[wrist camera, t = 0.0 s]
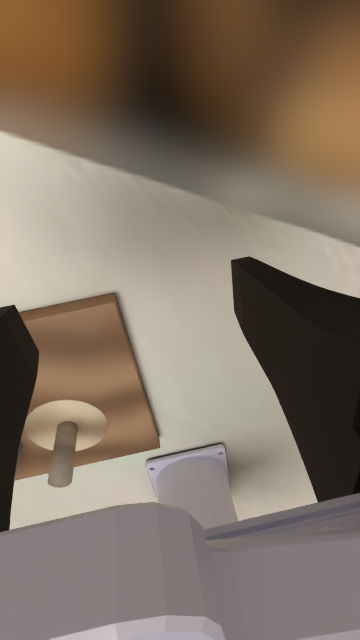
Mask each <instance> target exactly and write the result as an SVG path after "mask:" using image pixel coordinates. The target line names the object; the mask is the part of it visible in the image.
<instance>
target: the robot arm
mask: <svg viewBox="0 0 360 640" xmlns="http://www.w3.org/2000/svg"><path fill="white" fill-rule="evenodd" d="M231 268H232V283H233V298H234V311H235V314H236V317H237V319H238V322H239V325H240V327H241V330H242V332H243V334H244V336H245V338H246V340H247V342H248V344H249V345H250V347H251V349H252V351H253V353H254V354H255V356H256V358H257V360H258V361H259V363H260V365H261V367H262V368H263V370H264V372H265V374H266V376H267V377H268V379H269V381H270V383H271V385H272V387H273V389H274V391H275V393H276V395H277V397H278V400H279V402H280V405H281V407H282V409H283V412H284V414H285V416H286V419H287V421H288V424H289V426H290V429H291V431H292V434H293V436H294V439H295V441H296V444H297V446H298V449H299V452H300V454H301V457H302V460H303V462H304V465H305V468H306V470H307V473H308V476H309V478H310V481H311V484H312V487H313V489H314V492H315V495H316V498H317V501H318V503H314V504H310V505H306V506H301V507H297V508H293V509H289V510H284V511H280V512H276V513H271V514H267V515H263V516H259V517H254V518H250V519H246V520H242V521H238V518H237V515H236V511H235V507H234V504H233V500H232V497H231V493H230V484H229V476H228V468H227V459H226V451H225V446H224V445H222V444H219V445H214V446H210V447H206V448H201V449H197V450H192V451H188V452H183V453H179V454H175V455H170V456H166V457H161V458H157V459H152V460H149V461H147V462H146V468H147V471H148V473H149V476H150V479H151V481H152V484H153V486H154V489H155V492H156V494H157V497H158V503H156V502H148V503H137V504H126V505H117V506H112V507H108V508H104V509H99V510H95V511H91V512H86V513H82V514H78V515H73V516H69V517H64V518H60V519H56V520H51V521H47V522H43V523H38V524H34V525H30V526H25V527H21V528H16V529H12V530H9V526H10V513H11V503H12V495H13V486H14V477H15V470H16V463H17V456H18V450H19V445H20V441H21V436H22V432H23V429H24V425H25V421H26V418H27V414H28V410H29V406H30V403H31V399H32V395H33V391H34V387H35V383H36V379H37V373H38V363H39V350H38V348H37V346H36V345H35V343H34V341H33V339H32V337H31V335H30V333H29V331H28V329H27V327H26V326H25V324H24V322H23V320H22V318H21V316H20V314H19V312H18V310H17V309H16V307H15V305H11V306H6V307H1V308H0V640H360V298H356V297H352V296H348V295H345V294H341V293H338V292H334V291H331V290H328V289H325V288H322V287H319V286H316V285H313V284H311V283H308V282H306V281H303V280H300V279H298V278H296V277H293V276H291V275H289V274H287V273H284V272H282V271H280V270H278V269H276V268H274V267H272V266H269V265H267V264H265V263H263V262H261V261H259V260H257V259H254V258H252V257H244V258H239V259H234V260H231Z"/></svg>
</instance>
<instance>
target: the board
mask: <svg viewBox="0 0 360 640" xmlns="http://www.w3.org/2000/svg"><path fill="white" fill-rule="evenodd" d="M19 314H20V316H21V318H22V320H23V322H24V324H25V326H26V327H27V329H28V331H29V333H30V335H31V337H32V339H33V341H34V343H35V345H36V346H37V348H38V350H39V363H38V373H37V379H36V383H35V387H34V391H33V395H32V399H31V403H30V406H29V410H28V414H27V418H26V421H25V425H24V429H23V432H22V436H21V441H20V443H23V449H22V453H21V457H20V461H19V465H18V469H17V473H16V477H15V480H19V479H24V478H28V477H33V476H37V475H42V474H46V473H49V477H48V484H49V485H51V486H53V487H65V486H68V485H69V484H71V482H72V475H73V467H77V466H82V465H86V464H90V463H95V462H99V461H104V460H108V459H113V458H117V457H122V456H126V455H130V454H135V453H139V452H144V451H148V450H153V449H157V448H160V442H159V435H158V432H157V429H156V426H155V423H154V419H153V416H152V413H151V410H150V406H149V403H148V400H147V397H146V394H145V390H144V387H143V384H142V381H141V377H140V374H139V371H138V368H137V365H136V361H135V358H134V355H133V352H132V349H131V345H130V342H129V339H128V336H127V332H126V329H125V326H124V323H123V320H122V316H121V313H120V310H119V307H118V303H117V300H116V297H115V294H114V293H111V294H107V295H102V296H97V297H92V298H87V299H82V300H78V301H73V302H68V303H63V304H58V305H54V306H49V307H44V308H39V309H34V310H30V311H25V312H20V313H19Z"/></svg>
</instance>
